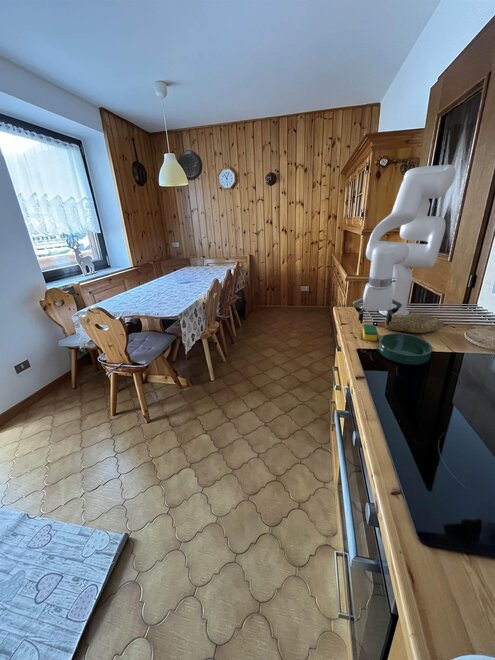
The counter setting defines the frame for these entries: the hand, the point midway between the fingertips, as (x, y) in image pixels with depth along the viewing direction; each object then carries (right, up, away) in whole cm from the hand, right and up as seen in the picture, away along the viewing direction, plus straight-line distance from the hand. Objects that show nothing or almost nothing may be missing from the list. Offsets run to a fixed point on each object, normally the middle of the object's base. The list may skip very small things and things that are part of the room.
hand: (374, 322), depth 112 cm
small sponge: (-1, -6, +1) cm, 6 cm away
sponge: (+17, -3, +4) cm, 18 cm away
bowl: (+5, -11, -12) cm, 17 cm away
